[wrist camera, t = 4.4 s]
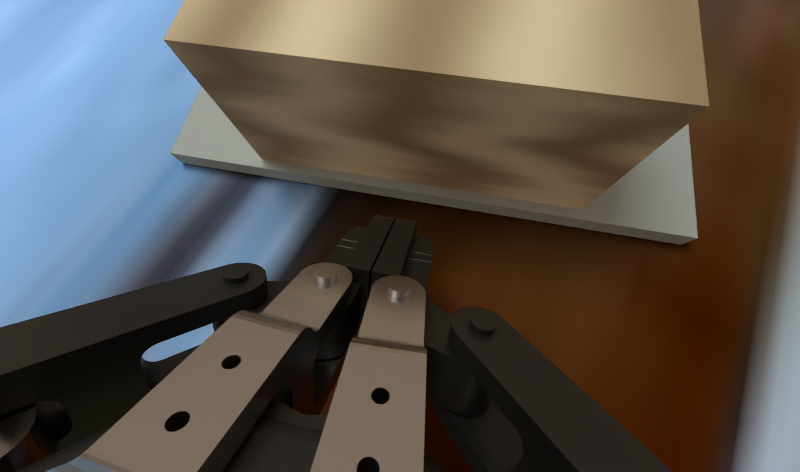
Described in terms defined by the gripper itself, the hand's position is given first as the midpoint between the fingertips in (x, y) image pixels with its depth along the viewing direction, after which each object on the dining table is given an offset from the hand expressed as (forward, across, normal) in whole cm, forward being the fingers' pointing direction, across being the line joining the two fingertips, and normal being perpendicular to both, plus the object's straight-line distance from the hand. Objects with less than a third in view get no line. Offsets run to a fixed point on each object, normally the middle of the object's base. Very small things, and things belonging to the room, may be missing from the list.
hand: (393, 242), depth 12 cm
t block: (+11, 0, -6) cm, 12 cm away
